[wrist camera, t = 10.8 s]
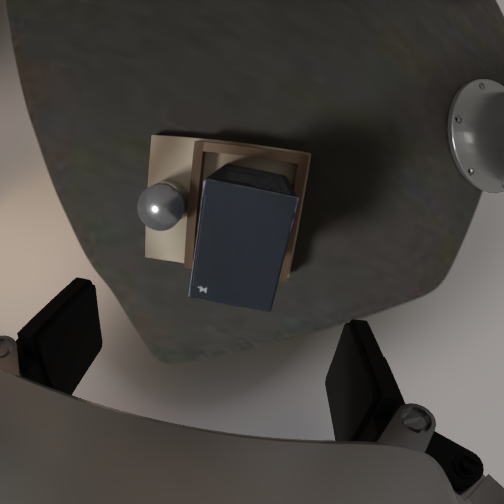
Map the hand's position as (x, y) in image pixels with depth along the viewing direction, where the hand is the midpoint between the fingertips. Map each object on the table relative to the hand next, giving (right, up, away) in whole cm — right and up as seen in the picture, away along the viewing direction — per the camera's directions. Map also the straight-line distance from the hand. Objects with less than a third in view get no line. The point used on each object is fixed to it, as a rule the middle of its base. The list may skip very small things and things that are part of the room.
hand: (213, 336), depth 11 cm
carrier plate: (-1, +7, +19) cm, 20 cm away
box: (+1, +7, +18) cm, 19 cm away
